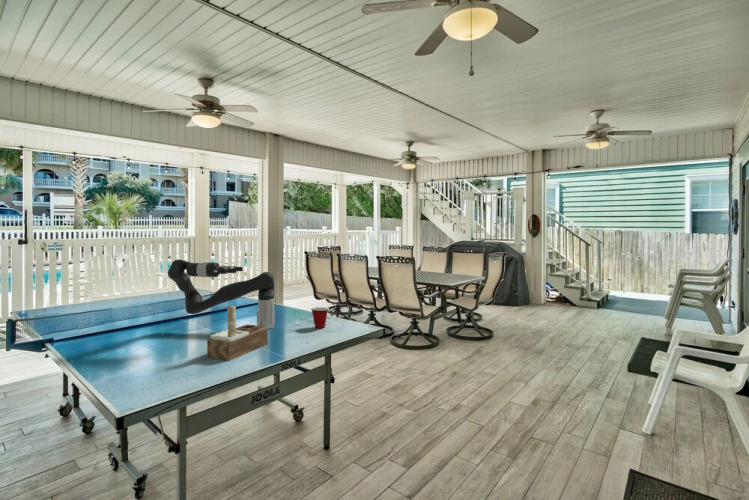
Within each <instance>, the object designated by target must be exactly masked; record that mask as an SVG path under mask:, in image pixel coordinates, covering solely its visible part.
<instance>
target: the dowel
mask: <svg viewBox="0 0 749 500" xmlns="http://www.w3.org/2000/svg"><path fill="white" fill-rule="evenodd" d="M236 306H237V305H229V306H227V330H228V337H233V336H236V328H237V315H236V311H237V309H236Z"/></svg>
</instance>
